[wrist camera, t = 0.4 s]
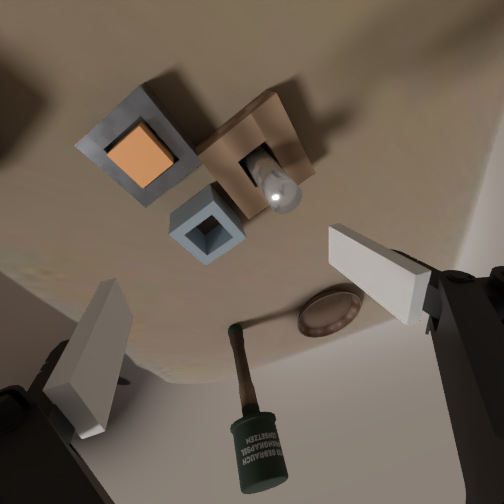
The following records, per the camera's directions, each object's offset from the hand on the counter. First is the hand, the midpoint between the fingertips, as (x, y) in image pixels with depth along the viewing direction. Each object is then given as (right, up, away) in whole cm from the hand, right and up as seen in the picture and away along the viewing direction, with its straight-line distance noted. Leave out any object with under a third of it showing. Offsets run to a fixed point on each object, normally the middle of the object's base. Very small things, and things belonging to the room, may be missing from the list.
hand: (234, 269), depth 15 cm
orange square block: (-12, +14, +16) cm, 24 cm away
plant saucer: (+21, -14, +51) cm, 57 cm away
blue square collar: (-7, +7, +26) cm, 28 cm away
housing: (-13, +15, +18) cm, 27 cm away
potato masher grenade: (-3, -18, +47) cm, 51 cm away
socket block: (+1, +16, +22) cm, 27 cm away
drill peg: (+1, +16, +22) cm, 27 cm away
